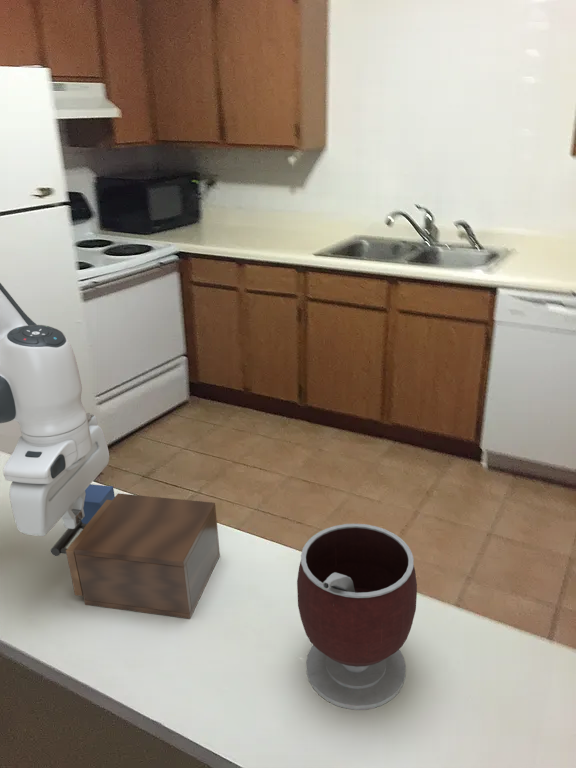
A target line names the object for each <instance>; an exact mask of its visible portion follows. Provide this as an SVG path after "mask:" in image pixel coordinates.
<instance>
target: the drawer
mask: <svg viewBox="0 0 576 768" xmlns="http://www.w3.org/2000/svg"><path fill="white" fill-rule="evenodd" d="M111 501H112V500H106V501H105V503H104V504H103V505H102V506H101V508H100V509H99V510H98V511H97V512H96V514H95V515H94V516H93V517H92V519H91V520H90V521H89V522H88V524H83V523H82V522H81V521H80V522H79V524H78V525H77V526H76V527H75V528H74V529H69V528H66V530H65V531H64V533H63V534H61V537H60V538H59V539H58V540H57V541H56V542H55V544H54V545H53V546H52V547H51V549H50V553H51V555H52V556H54V557H59V556H60V555H61V554H62V555H66V558H67V563H68V568H69V573H70V577H71V582H72V586H73V592H74V595H75V596H79V597H84V596H83V591H82V586H81V581H80V577H79V572H78V567H77V562H76V557H75V552H74V548H75V547H76V546H77V544H78V543H79V542H80V541H81V539H82V538H83V537H84V536H85V534H86V533H87V532H88V531H89V529H90V528H91V527H92V525H93V524H94V523H95V522H96V520H97V519H98V518H99V517H100V515H101V514H102V513H103V512H104V510H105V509H106V508H107V506H108V505H109V504H110V503H111ZM78 533H79V534H78ZM76 535H77V536H76ZM73 539H74V540H73ZM72 540H73V541H72ZM69 544H70V545H69ZM67 546H68V547H67Z"/></svg>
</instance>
